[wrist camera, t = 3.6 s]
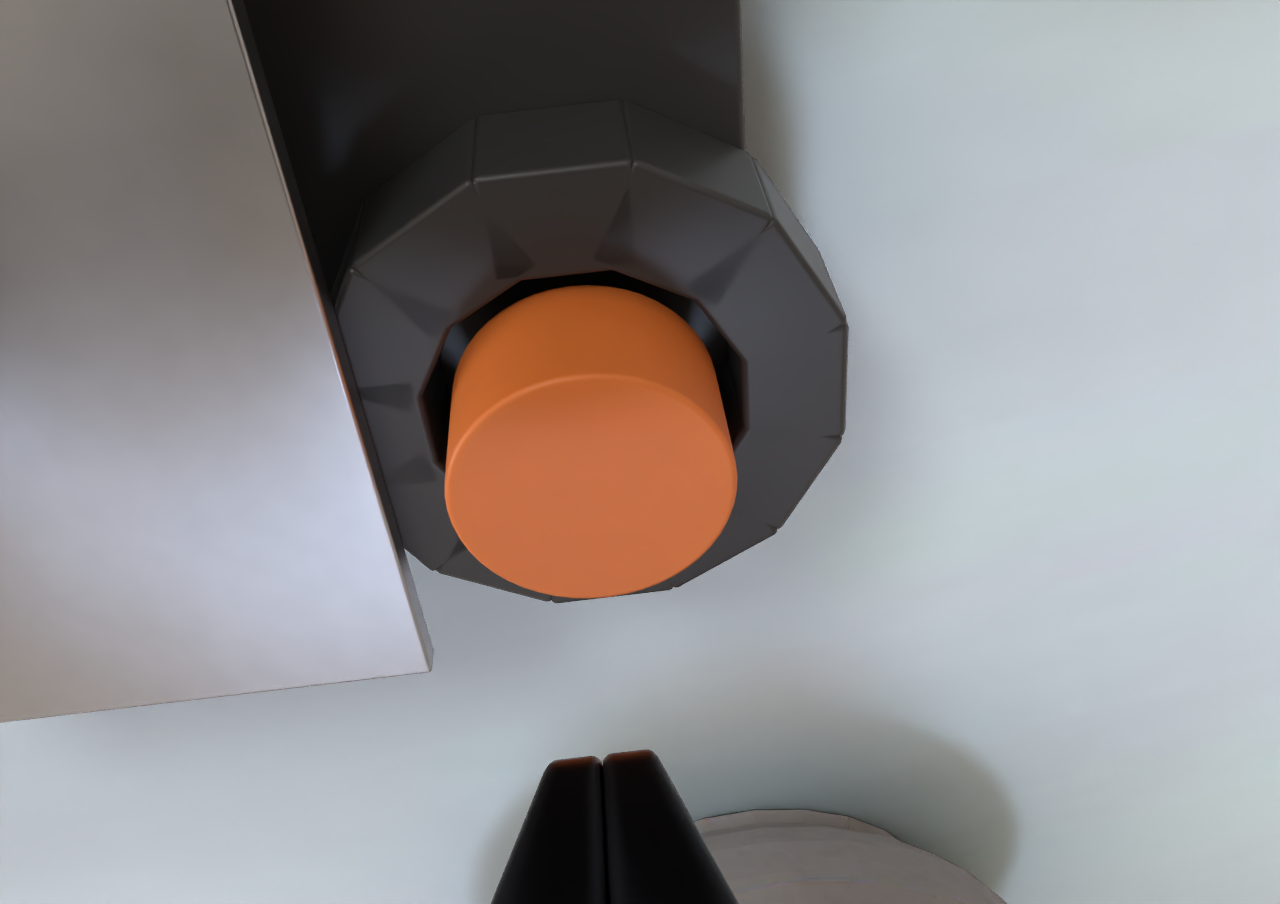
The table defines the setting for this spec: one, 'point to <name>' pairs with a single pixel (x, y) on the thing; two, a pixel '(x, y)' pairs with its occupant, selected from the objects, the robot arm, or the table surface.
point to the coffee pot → (830, 862)
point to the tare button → (588, 444)
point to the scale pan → (173, 382)
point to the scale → (549, 220)
